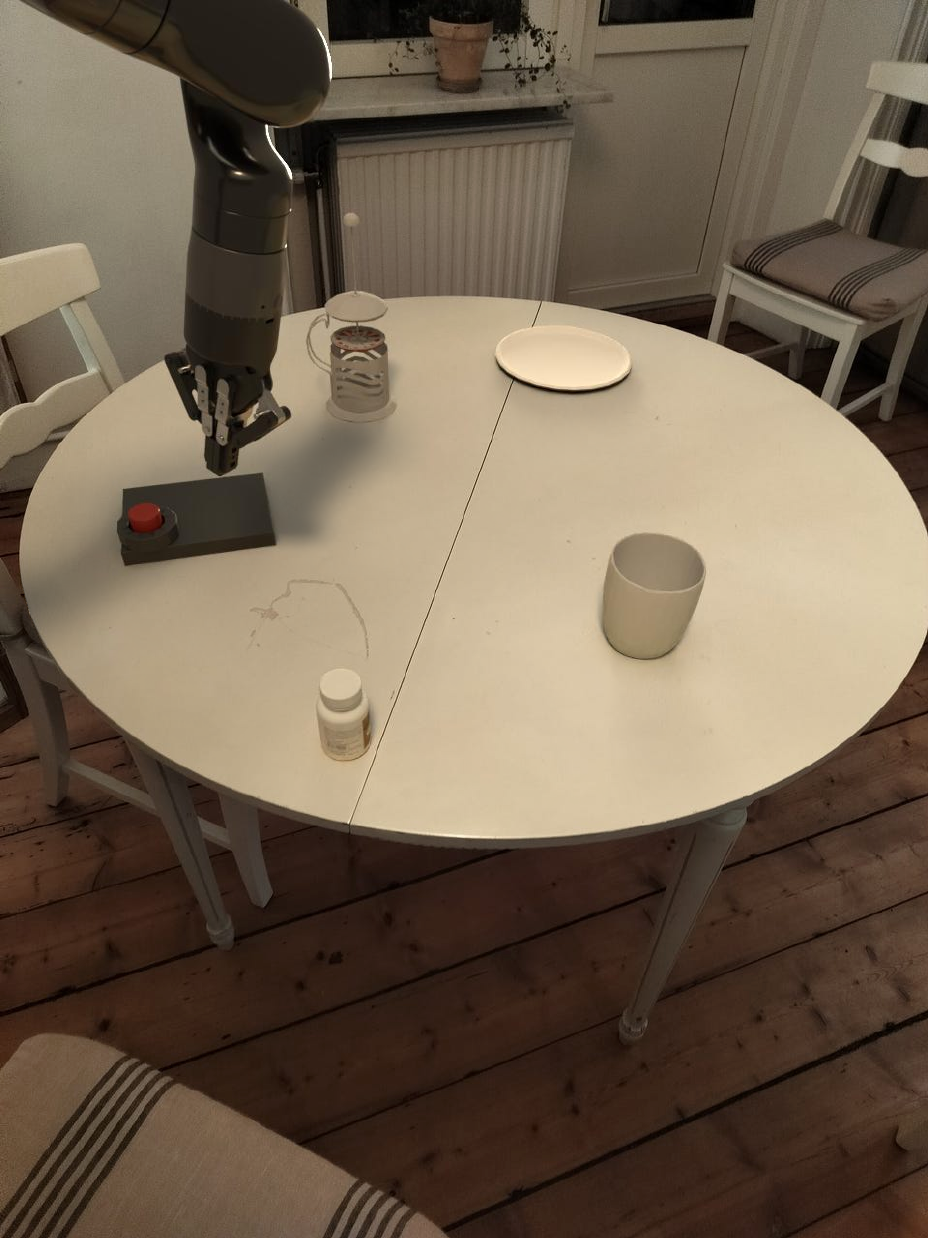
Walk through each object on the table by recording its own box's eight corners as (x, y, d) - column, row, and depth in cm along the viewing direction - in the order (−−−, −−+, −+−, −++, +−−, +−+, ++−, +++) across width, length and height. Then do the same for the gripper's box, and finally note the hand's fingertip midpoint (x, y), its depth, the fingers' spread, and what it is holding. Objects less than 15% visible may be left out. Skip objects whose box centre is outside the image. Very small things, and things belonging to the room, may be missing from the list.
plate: (506, 325, 135) (507, 317, 135) (634, 340, 133) (636, 333, 132) (483, 385, 121) (483, 377, 120) (627, 404, 118) (628, 396, 117)
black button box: (124, 569, 89) (115, 543, 86) (126, 501, 97) (118, 476, 95) (276, 548, 92) (272, 522, 90) (265, 484, 101) (261, 459, 98)
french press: (394, 423, 112) (389, 229, 95) (307, 419, 112) (287, 224, 95) (399, 387, 119) (395, 201, 102) (318, 384, 119) (301, 197, 102)
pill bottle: (379, 750, 72) (376, 692, 67) (332, 769, 71) (325, 711, 66) (358, 716, 75) (354, 657, 70) (313, 733, 74) (305, 674, 68)
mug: (696, 665, 81) (722, 588, 74) (608, 673, 80) (626, 596, 73) (654, 580, 90) (674, 505, 83) (575, 587, 89) (588, 511, 82)
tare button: (131, 535, 88) (127, 522, 86) (131, 518, 90) (127, 504, 89) (163, 531, 88) (159, 518, 87) (162, 514, 91) (159, 501, 89)
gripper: (137, 264, 65) (137, 449, 76) (266, 339, 62) (245, 521, 73) (207, 248, 70) (197, 424, 82) (329, 317, 67) (301, 490, 79)
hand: (220, 470), depth 78 cm, fingers closed
